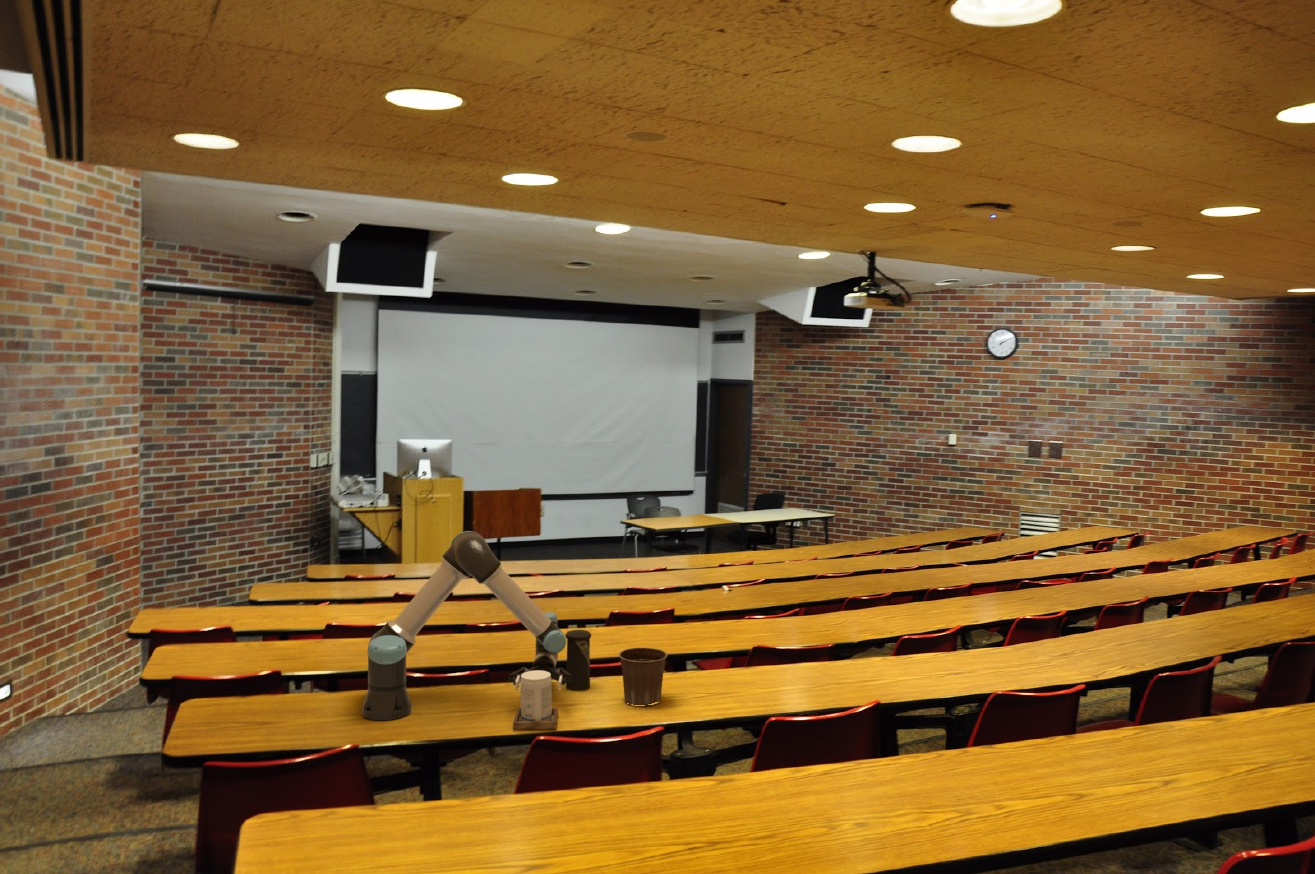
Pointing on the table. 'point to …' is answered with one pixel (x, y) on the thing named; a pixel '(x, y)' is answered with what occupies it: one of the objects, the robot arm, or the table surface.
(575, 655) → the container
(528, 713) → the supplement tub
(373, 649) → the robot arm
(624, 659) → the plant pot
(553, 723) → the holder tray
